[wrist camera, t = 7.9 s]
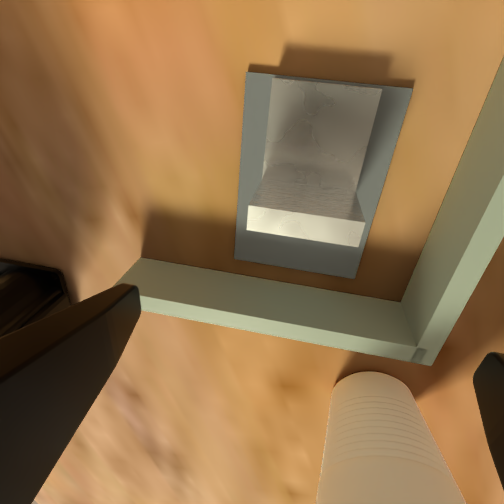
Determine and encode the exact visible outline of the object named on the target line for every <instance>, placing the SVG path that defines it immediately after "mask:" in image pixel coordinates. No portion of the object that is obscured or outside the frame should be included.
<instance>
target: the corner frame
mask: <svg viewBox="0 0 504 504" xmlns="http://www.w3.org/2000/svg"><path fill="white" fill-rule="evenodd" d="M503 237H504V58H503V60H502V62H501V65H500V67H499V69H498V72H497V74H496V77H495V79H494V81H493V84H492V86H491V88H490V91H489V93H488V96H487V98H486V100H485V103H484V105H483V107H482V110H481V112H480V115H479V117H478V119H477V122H476V124H475V127H474V129H473V131H472V134H471V136H470V138H469V141H468V143H467V146H466V148H465V150H464V153H463V155H462V157H461V160H460V162H459V165H458V167H457V169H456V172H455V174H454V176H453V179H452V181H451V184H450V186H449V188H448V191H447V193H446V196H445V198H444V200H443V203H442V205H441V207H440V210H439V212H438V215H437V217H436V219H435V222H434V224H433V226H432V229H431V231H430V234H429V236H428V238H427V241H426V243H425V245H424V248H423V250H422V253H421V255H420V257H419V260H418V262H417V265H416V267H415V269H414V272H413V274H412V276H411V279H410V281H409V284H408V286H407V288H406V291H405V293H404V295H403V298H402V300H401V302H396V301H390V300H384V299H378V298H373V297H367V296H361V295H355V294H349V293H344V292H338V291H332V290H326V289H321V288H315V287H309V286H303V285H298V284H292V283H286V282H280V281H274V280H269V279H263V278H257V277H251V276H246V275H240V274H234V273H228V272H223V271H217V270H211V269H205V268H199V267H194V266H188V265H182V264H176V263H171V262H165V261H159V260H153V259H147V258H142V257H140V258H139V260H138V261H137V262H136V263H135V264H134V265H133V266H132V267H131V268H130V269H129V270H128V271H127V272H126V273H125V274H124V275H123V276H122V277H121V279H120V280H119V281H118V282H117V283H116V284H115V285H114V286H116V285H119V284H121V283H128V284H133V285H136V286H137V287H138V288H139V294H140V302H141V310H143V311H148V312H153V313H158V314H163V315H169V316H174V317H179V318H184V319H189V320H195V321H200V322H205V323H210V324H215V325H220V326H226V327H231V328H236V329H241V330H246V331H252V332H257V333H262V334H267V335H272V336H278V337H283V338H288V339H293V340H298V341H303V342H309V343H314V344H319V345H324V346H329V347H335V348H340V349H345V350H350V351H355V352H360V353H366V354H371V355H376V356H381V357H386V358H392V359H397V360H402V361H407V362H412V363H417V364H423V365H428V366H432V364H433V362H434V360H435V359H436V357H437V355H438V353H439V351H440V350H441V348H442V346H443V344H444V343H445V341H446V339H447V337H448V335H449V334H450V332H451V330H452V328H453V326H454V325H455V323H456V321H457V319H458V318H459V316H460V314H461V312H462V310H463V309H464V307H465V305H466V303H467V301H468V300H469V298H470V296H471V294H472V293H473V291H474V289H475V287H476V285H477V284H478V282H479V280H480V278H481V276H482V275H483V273H484V271H485V269H486V268H487V266H488V264H489V262H490V260H491V259H492V257H493V255H494V253H495V251H496V250H497V248H498V246H499V244H500V243H501V241H502V239H503ZM114 286H113V287H114Z"/></svg>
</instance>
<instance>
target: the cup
mask: <svg viewBox="0 0 504 504" xmlns="http://www.w3.org/2000/svg"><path fill="white" fill-rule="evenodd" d="M316 504H467V503H466V501H465V499H464V497H463V495H462V493H461V491H460V489H459V487H458V486H457V484H456V482H455V480H454V478H453V476H452V474H451V472H450V469H449V468H448V466H447V464H446V462H445V460H444V458H443V456H442V454H441V452H440V450H439V448H438V446H437V444H436V442H435V440H434V438H433V436H432V434H431V432H430V430H429V428H428V426H427V424H426V422H425V420H424V418H423V416H422V414H421V411H420V409H419V407H418V405H417V403H416V401H415V399H414V397H413V395H412V393H411V391H410V389H409V388H408V387H407V386H406V385H405V384H404V383H403V382H401V381H400V380H398V379H396V378H394V377H392V376H390V375H387V374H384V373H380V372H371V371H366V372H358V373H354V374H351V375H349V376H347V377H345V378H344V379H342V380H340V381H339V382H338V383H337V384H336V385H335V387H334V388H333V391H332V395H331V402H330V409H329V418H328V425H327V431H326V438H325V444H324V451H323V458H322V466H321V473H320V480H319V484H318V491H317V498H316Z"/></svg>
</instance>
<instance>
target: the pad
mask: <svg viewBox="0 0 504 504" xmlns="http://www.w3.org/2000/svg"><path fill="white" fill-rule="evenodd" d="M272 78H282V79H292V80H302V81H312V82H322V83H332V84H342V85H352V86H362V87H372V88H380V89H382V93H381V97H380V100H379V104H378V108H377V112H376V116H375V119H374V123H373V127H372V131H371V135H370V138H369V142H368V146H367V150H366V153H365V157H364V161H363V165H362V169H361V172H360V176H359V180H358V184H357V188H356V194H357V197H358V201H359V204H360V207H361V210H362V213H363V216H364V219H365V222H366V223H365V226H364V230H363V233H362V236H361V240H360V243H359V246H358V247H353V246H346V245H340V244H334V243H327V242H321V241H314V240H308V239H302V238H295V237H289V236H282V235H276V234H270V233H263V232H257V231H250V230H246V229H247V217H248V205H249V203H250V201H251V199H252V197H253V195H254V194H255V192H256V190H257V188H258V186H259V184H260V182H261V180H262V175H263V165H264V155H265V145H266V136H267V126H268V116H269V106H270V96H271V87H272ZM412 91H413V88H403V87H393V86H384V85H374V84H364V83H354V82H344V81H334V80H324V79H314V78H304V77H294V76H284V75H274V74H264V73H254V72H246V81H245V96H244V112H243V128H242V143H241V159H240V174H239V190H238V205H237V221H236V236H235V252H234V259H238V260H244V261H249V262H255V263H261V264H267V265H273V266H279V267H285V268H291V269H297V270H303V271H309V272H315V273H321V274H327V275H333V276H339V277H345V278H351V279H355V276H356V272H357V269H358V266H359V263H360V259H361V256H362V253H363V250H364V247H365V243H366V240H367V237H368V234H369V230H370V227H371V224H372V221H373V217H374V214H375V211H376V208H377V204H378V201H379V198H380V195H381V191H382V188H383V185H384V182H385V178H386V175H387V172H388V169H389V165H390V162H391V159H392V156H393V152H394V149H395V146H396V143H397V139H398V136H399V133H400V130H401V127H402V123H403V120H404V117H405V114H406V110H407V107H408V104H409V101H410V97H411V94H412Z"/></svg>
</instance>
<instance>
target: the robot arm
mask: <svg viewBox="0 0 504 504" xmlns="http://www.w3.org/2000/svg"><path fill="white" fill-rule="evenodd" d="M140 314H141V302H140V294H139V288H138V287H137V286H136V285H133V284H128V283H121V284H119V285H116V286H114V287H112V288H110V289H108V290H105V291H103V292H101V293H99V294H96V295H94V296H92V297H90V298H88V299H85V300H83V301H81V302H79V303H77V304H74V305H72V306H71V303H70V299H69V295H68V292H67V288H66V284H65V281H64V277H63V274H62V272H61V271H59V270H58V269H54V268H49V267H43V266H38V265H32V264H27V263H21V262H16V261H10V260H5V259H0V504H31V503H32V502H33V500H34V499H35V497H36V495H37V494H38V492H39V490H40V489H41V487H42V486H43V484H44V482H45V481H46V479H47V477H48V476H49V474H50V473H51V471H52V469H53V468H54V466H55V464H56V463H57V461H58V460H59V458H60V456H61V455H62V453H63V451H64V450H65V448H66V447H67V445H68V443H69V442H70V440H71V438H72V437H73V435H74V434H75V432H76V430H77V429H78V427H79V425H80V424H81V422H82V421H83V419H84V417H85V416H86V414H87V412H88V411H89V409H90V408H91V406H92V404H93V403H94V401H95V399H96V398H97V396H98V395H99V393H100V391H101V390H102V388H103V386H104V385H105V383H106V382H107V380H108V378H109V377H110V375H111V373H112V372H113V370H114V368H115V367H116V365H117V363H118V361H119V359H120V357H121V355H122V353H123V351H124V349H125V346H126V344H127V342H128V340H129V338H130V336H131V334H132V332H133V330H134V328H135V325H136V323H137V321H138V319H139V317H140ZM473 385H474V389H475V393H476V397H477V401H478V405H479V410H480V414H481V418H482V422H483V426H484V430H485V435H486V438H487V442H488V446H489V449H490V452H491V455H492V458H493V461H494V464H495V467H496V470H497V473H498V475H499V478H500V481H501V484H502V487H503V490H504V354H503V353H498V352H490V353H488V354H487V355H486V357H485V358H484V360H483V361H482V362H481V364H480V365H479V367H478V368H477V370H476V371H475V373H474V376H473Z"/></svg>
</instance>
